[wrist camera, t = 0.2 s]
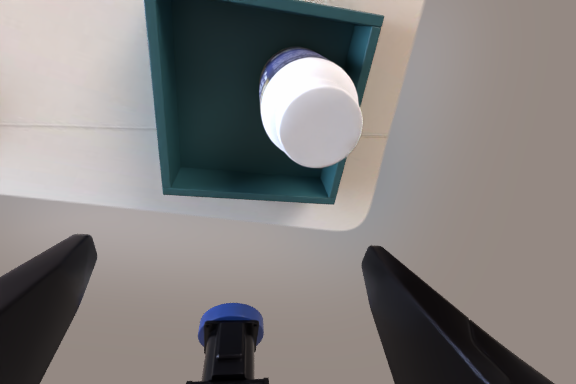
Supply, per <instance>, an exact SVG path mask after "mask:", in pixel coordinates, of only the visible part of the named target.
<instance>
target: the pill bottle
mask: <svg viewBox="0 0 576 384" xmlns="http://www.w3.org/2000/svg"><path fill="white" fill-rule="evenodd" d="M259 97H260V110H261V118H262V122H263V125H264V128H265V130H266V132H267V134H268V136H269V138H270V139H271V140H272V142H273V143H274V144H275V145H276V146H277V147H278V148H279V149H281V150H282V151H284V152H285V153H286V154H287V155H288V157H289V158H291V159H292V160H293V161H294V162H296V163H298V164H300V165H302V166H305V167H310V168H323V167H328V166H331V165H334V164H336V163H338V162H340V161H341V160H343V159H344V158H345V157H347V156H348V155H349V154H350V153H351V152H352V150H353V149H354V148H355V146H356V145H357V143H358V141H359V138H360V136H361V132H362V125H363V120H362V113H361V110H360V107H359V102H358V95H357V92H356V89H355V86H354V84H353V82H352V80H351V79H350V77H349V76H348V75H347V73H346V72H345V71H344V70H343V69H342V68H341V67H339V66H338V65H336V64H335V63H334V62H332V61H330V60H328V59H326V58H325V57H323V56H321V55H320V54H318V53H316V52H315V51H313V50H310V49H308V48H304V47H289V48H285V49H283V50H281V51H279V52H277V53H276V54H274V55H273V56H272V57H271V58H270V59H269V60H268V62H267V63H266V64H265V66H264V68H263V70H262V72H261V76H260V80H259Z"/></svg>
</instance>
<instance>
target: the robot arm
mask: <svg viewBox="0 0 576 384" xmlns="http://www.w3.org/2000/svg"><path fill="white" fill-rule="evenodd" d="M96 260H97V252H96V249H95V245H94V242H93V239H92V237H91V236H90V235H88V234H75V235H72V236H70V237H69V238H67V239H65V240H63V241H62V242H60V243H58V244H56V245H55V246H53V247H51V248H50V249H48V250H46V251H45V252H43V253H41V254H39V255H38V256H36V257H34V258H32V259H31V260H29V261H27V262H25V263H24V264H22V265H20V266H18V267H17V268H15V269H14V270H12V271H10V272H9V273H6V274H5V275H3V276H1V277H0V384H40V382H41V380H42V378H43V376H44V374H45V372H46V370H47V368H48V366H49V364H50V362H51V360H52V359H53V357H54V355H55V353H56V351H57V349H58V347H59V345H60V343H61V341H62V339H63V337H64V335H65V333H66V331H67V329H68V328H69V326H70V324H71V322H72V320H73V318H74V316H75V313H76V312H77V309H78V307H79V305H80V303H81V300H82V298H83V295H84V293H85V290H86V287H87V284H88V282H89V279H90V276H91V274H92V271H93V269H94V266H95V263H96ZM362 271H363V276H364V280H365V285H366V289H367V294H368V300H369V304H370V308H371V311H372V314H373V318H374V321H375V324H376V327H377V330H378V333H379V336H380V339H381V342H382V345H383V349H384V352H385V355H386V358H387V361H388V364H389V367H390V370H391V373H392V376H393V379H394V382H395V384H554V383H553V382H551V381H550V380H549V379H547V378H546V377H545V376H543V375H542V374H540V373H539V372H538V371H536V370H535V369H534V368H532V367H531V366H529V365H528V364H527V363H525V362H524V361H523V360H521V359H520V358H519V357H517V356H516V355H515V354H513V353H512V352H511V351H509V350H508V349H507V348H505V347H504V346H503V345H501V344H500V343H499V342H497V341H496V340H495V339H494V338H492V337H491V336H490V335H489V334H487V333H486V332H485V331H484V330H482V329H481V328H480V327H479V326H478V325H476V324H475V323H474V322H472V321H471V320H469V319H468V317H466V316H465V315H464V314H463V313H462V312H460V311H459V310H458V309H457V308H455V307H454V306H453V305H452V304H451V303H449V302H448V301H447V300H446V299H445V298H443V297H442V296H441V295H440V294H438V293H437V292H436V291H435V290H433V289H432V288H431V287H430V286H429V285H428V284H426V283H425V282H424V281H423V280H421V279H420V278H419V277H418V276H417V275H415V274H414V273H413V272H412V271H411V270H409V269H408V268H407V267H406V266H405V265H403V264H402V263H401V262H400V261H398V260H397V259H396V258H395V257H394V256H392V255H391V254H390V253H389V252H388V251H386V250H385V249H384V248H383V247H381V246H369V247H368V249H367V251H366V253H365V256H364V258H363V261H362ZM258 330H259V321H258V320H208V321H205V323H204V353H205V361H204V369H203V376H202V381H200V382H192V381H187V383H186V384H269V380H268V378H264V379H254V352H255V351H256V344H257V337H258Z"/></svg>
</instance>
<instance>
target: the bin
mask: <svg viewBox="0 0 576 384" xmlns="http://www.w3.org/2000/svg"><path fill="white" fill-rule="evenodd" d="M144 7H145V17H146V27H147V37H148V47H149V57H150V67H151V78H152V88H153V98H154V108H155V118H156V128H157V138H158V148H159V158H160V168H161V178H162V187H163V195H179V196H196V197H213V198H230V199H248V200H265V201H282V202H299V203H316V204H333V205H334V203H335V199H336V195H337V192H338V188H339V184H340V180H341V177H342V173H343V169H344V165H345V162H346V158H347V157H345V158H344V159H343V160H341V161H340V162H338V163H336V164H334V165H331V166H328V167H323V168H310V167H305V166H302V165H300V164H298V163H296V162H294V161H293V160H292V159H291V158H289V157H288V155H287V154H286V153H285V152H284V151H282V150H281V149H279V148H278V147H277V146H276V145H275V144H274V143H273V142H272V140H271V139H270V138H269V136H268V134H267V132H266V130H265V128H264V125H263V122H262V118H261V110H260V97H259V80H260V76H261V72H262V70H263V68H264V66H265V64H266V63H267V62H268V60H269V59H270V58H271V57H272V56H273V55H274V54H276V53H277V52H279V51H281V50H283V49H285V48H289V47H304V48H308V49H310V50H313V51H315V52H316V53H318V54H320V55H321V56H323V57H325V58H326V59H328V60H330V61H332V62H334V63H335V64H336V65H338V66H339V67H341V68H342V69H343V70H344V71H345V72H346V73H347V75H348V76H349V77H350V79H351V80H352V82H353V84H354V86H355V89H356V92H357V95H358V102H359V107H360V105H361V102H362V98H363V94H364V90H365V87H366V83H367V79H368V75H369V72H370V68H371V64H372V60H373V57H374V53H375V49H376V45H377V42H378V38H379V34H380V30H381V28H380V27H381V26H382V23H383V19H384V16H383V15H378V14H372V13H366V12H361V11H355V10H350V9H344V8H338V7H333V6H327V5H321V4H316V3H310V2H305V1H299V0H144Z"/></svg>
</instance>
